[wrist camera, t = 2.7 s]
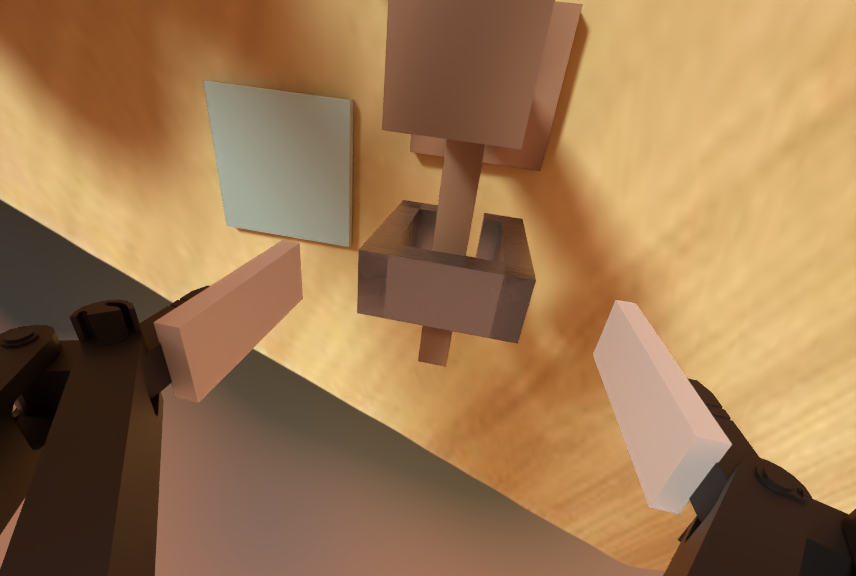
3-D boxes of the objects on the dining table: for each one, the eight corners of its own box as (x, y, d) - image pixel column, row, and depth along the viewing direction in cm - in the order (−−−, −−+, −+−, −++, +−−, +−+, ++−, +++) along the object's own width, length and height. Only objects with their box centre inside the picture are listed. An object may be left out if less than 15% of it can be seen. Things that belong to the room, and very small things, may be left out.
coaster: (232, 223, 35) (226, 225, 34) (210, 80, 29) (203, 80, 28) (351, 244, 34) (348, 247, 33) (353, 100, 28) (349, 100, 27)
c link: (399, 247, 23) (357, 312, 16) (403, 200, 21) (358, 249, 14) (510, 266, 22) (517, 343, 15) (522, 219, 21) (536, 280, 14)
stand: (405, 237, 33) (275, 437, 13) (426, -8, 24) (162, -410, 5) (516, 256, 32) (548, 499, 12) (578, 8, 23) (963, -408, 4)
